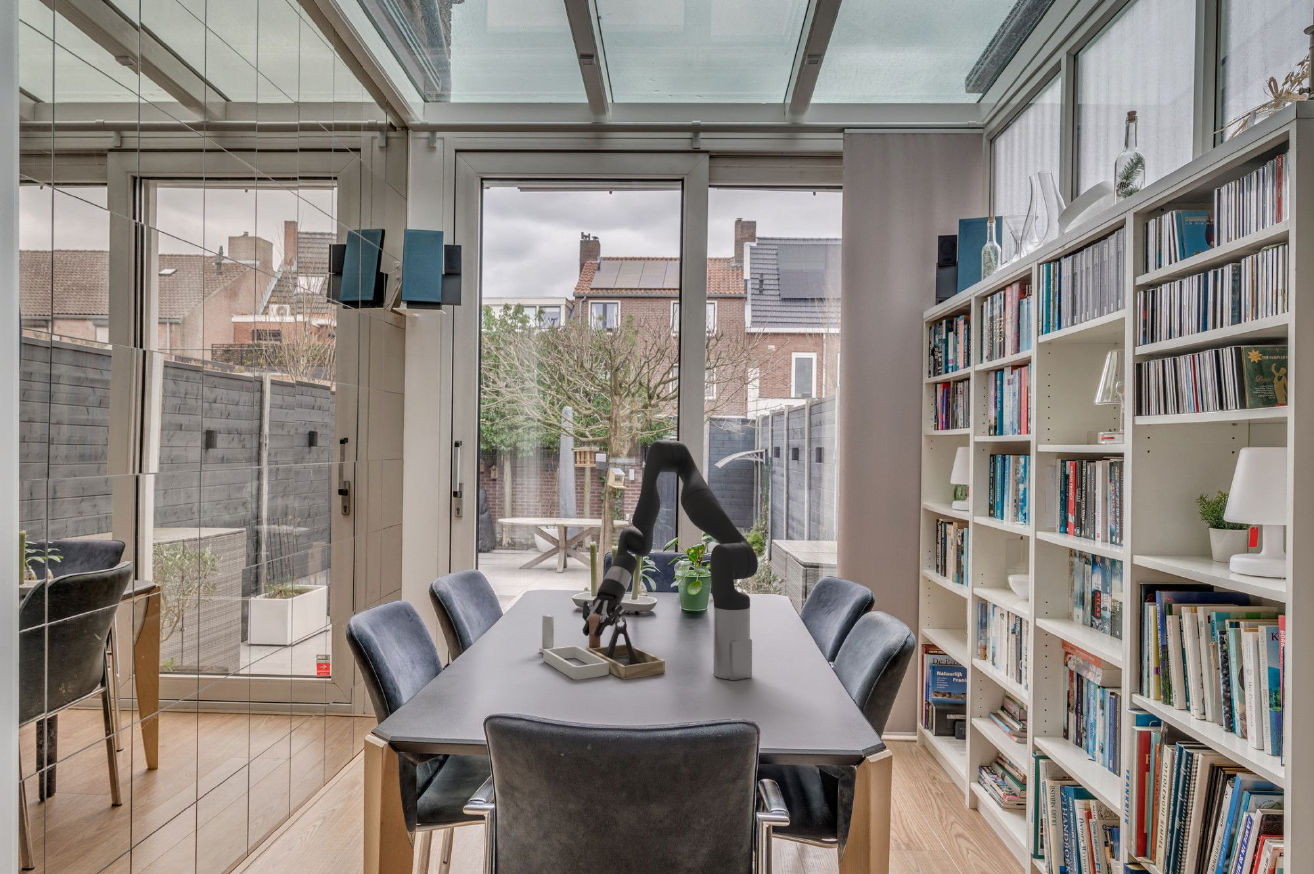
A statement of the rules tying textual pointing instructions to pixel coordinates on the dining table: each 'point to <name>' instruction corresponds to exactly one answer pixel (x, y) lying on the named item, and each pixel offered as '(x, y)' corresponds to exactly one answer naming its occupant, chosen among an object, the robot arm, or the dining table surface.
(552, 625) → the white frame
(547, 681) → the dining table surface
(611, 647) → the dark metal pliers
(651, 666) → the oak frame
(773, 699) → the dining table surface
